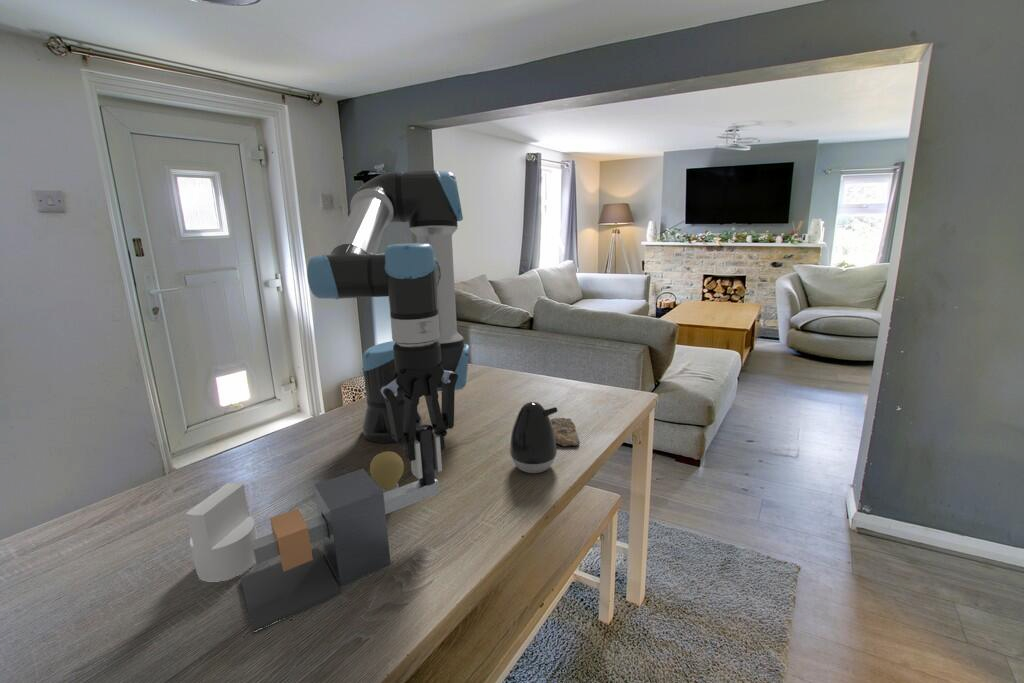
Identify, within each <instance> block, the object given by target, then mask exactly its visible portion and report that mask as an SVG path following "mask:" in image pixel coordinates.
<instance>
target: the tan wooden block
mask: <svg viewBox="0 0 1024 683" xmlns="http://www.w3.org/2000/svg"><path fill="white" fill-rule="evenodd" d="M269 521H270V526H271V531H272V533H274V535H275V537H276V540H277V542H278V547H279V553H280V555H279V558H280V562H281V565H282V568H283V571H287V570H289V569H292V568H294V567H297V566H299V565H301V564H304V563H306V562H309V561H311V560H313V557H312V551H311V550H312V546H311V544H312V543H310V538H309V531H308V527H307V525H306V523H305V521H306V520H305V519H304V517H303V515H302V512H301V511H300V509H299V508H296V509H292V510H290V511H287V512H283V513H281V514H279V515H275V516H272V517H270V518H269ZM272 533H271V534H272Z"/></svg>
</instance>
